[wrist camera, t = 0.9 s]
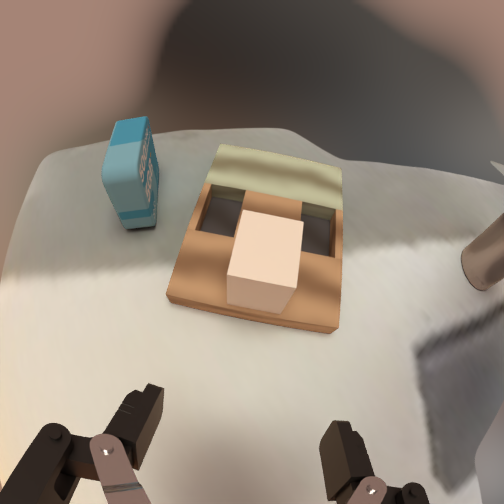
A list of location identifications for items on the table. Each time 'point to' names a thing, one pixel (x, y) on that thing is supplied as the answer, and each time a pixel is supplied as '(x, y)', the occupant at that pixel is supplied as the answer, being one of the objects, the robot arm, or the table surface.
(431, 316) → the table surface
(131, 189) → the data package
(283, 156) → the board
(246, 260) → the block
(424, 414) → the table surface
